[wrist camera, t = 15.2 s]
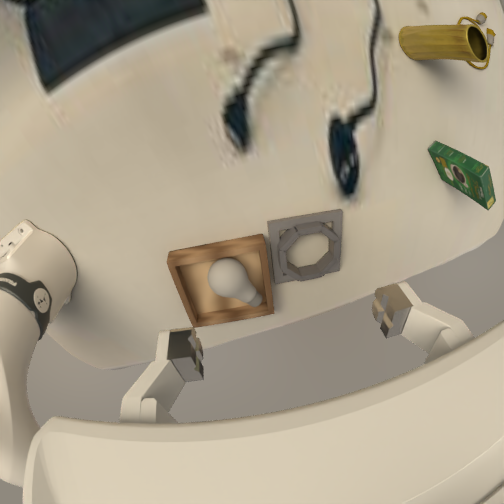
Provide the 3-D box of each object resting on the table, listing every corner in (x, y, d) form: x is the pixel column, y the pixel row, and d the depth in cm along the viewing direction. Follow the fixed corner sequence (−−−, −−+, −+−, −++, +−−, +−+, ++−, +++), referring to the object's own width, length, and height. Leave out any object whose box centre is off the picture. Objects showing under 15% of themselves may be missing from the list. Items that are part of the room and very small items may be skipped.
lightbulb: (246, 324, 45) (197, 290, 40) (245, 298, 50) (201, 263, 44) (276, 308, 43) (227, 269, 37) (272, 281, 48) (228, 243, 42)
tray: (193, 316, 51) (193, 327, 48) (169, 251, 42) (166, 262, 40) (271, 302, 51) (274, 313, 49) (262, 233, 43) (265, 243, 40)
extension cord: (499, 62, 26) (505, 63, 25) (465, 73, 29) (472, 75, 28) (481, 12, 20) (488, 12, 18) (443, 15, 23) (450, 14, 21)
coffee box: (449, 171, 40) (497, 201, 29) (441, 181, 41) (488, 212, 30) (435, 139, 37) (489, 164, 26) (426, 148, 37) (480, 176, 27)
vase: (417, 67, 29) (483, 74, 18) (392, 41, 27) (458, 37, 15) (430, 45, 27) (495, 49, 15) (406, 19, 24) (471, 12, 13)
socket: (274, 281, 49) (277, 290, 46) (267, 221, 42) (270, 229, 40) (337, 268, 49) (342, 276, 47) (340, 209, 42) (346, 215, 40)
